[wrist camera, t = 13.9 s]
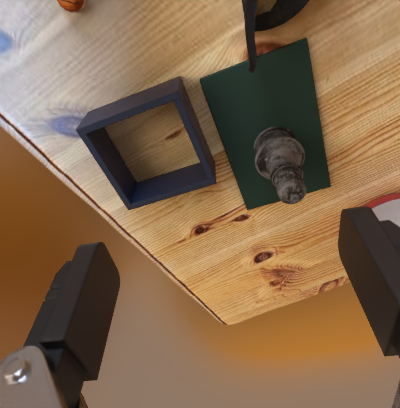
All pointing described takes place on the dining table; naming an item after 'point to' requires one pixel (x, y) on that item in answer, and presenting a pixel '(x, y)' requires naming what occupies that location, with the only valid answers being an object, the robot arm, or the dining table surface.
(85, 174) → the dining table surface
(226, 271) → the dining table surface
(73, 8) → the small kettle
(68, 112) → the dining table surface
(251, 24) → the holder
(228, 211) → the dining table surface
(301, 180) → the grey flared post
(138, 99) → the crate
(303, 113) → the mat
